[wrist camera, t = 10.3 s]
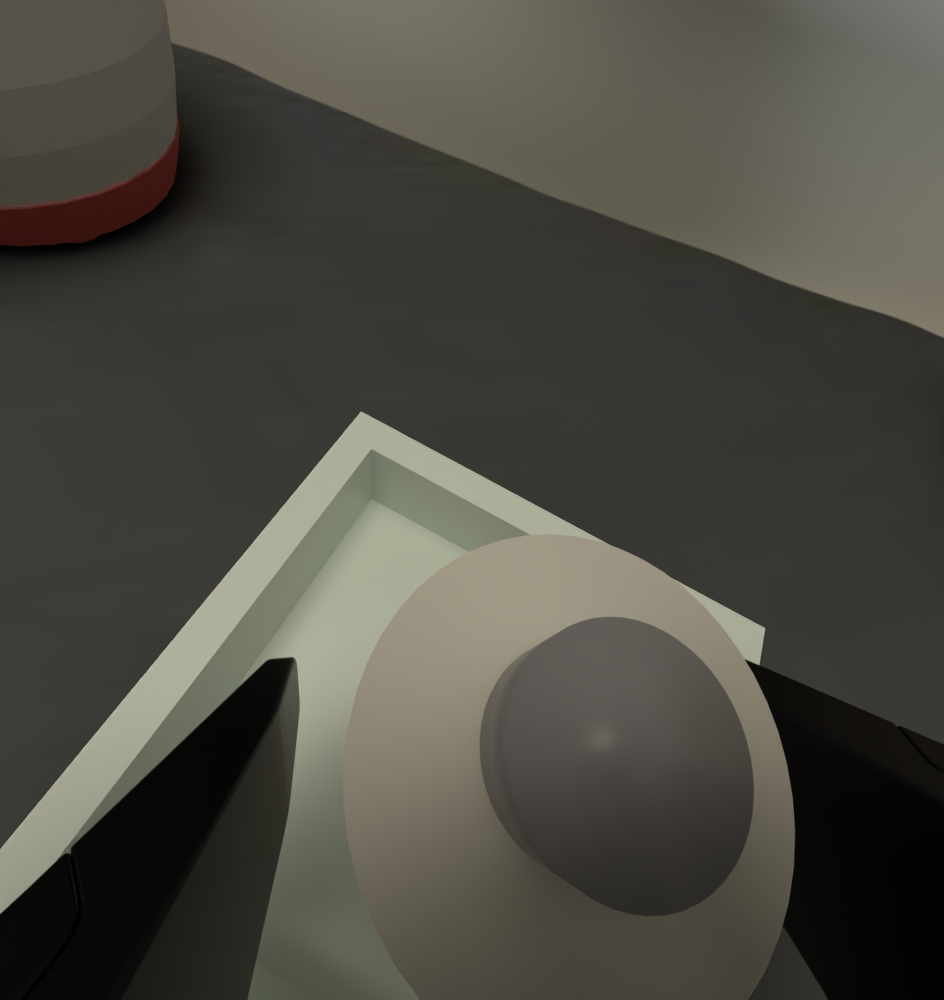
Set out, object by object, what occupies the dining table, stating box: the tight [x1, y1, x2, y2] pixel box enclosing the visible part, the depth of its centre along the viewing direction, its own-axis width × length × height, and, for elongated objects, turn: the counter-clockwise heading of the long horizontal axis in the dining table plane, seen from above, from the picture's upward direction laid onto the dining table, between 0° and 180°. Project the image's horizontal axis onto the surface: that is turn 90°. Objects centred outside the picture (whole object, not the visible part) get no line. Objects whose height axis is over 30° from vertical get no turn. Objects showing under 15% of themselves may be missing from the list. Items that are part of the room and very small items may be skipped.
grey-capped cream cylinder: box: [343, 534, 795, 1000], centre depth 9 cm, size 4×4×12 cm
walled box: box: [0, 412, 765, 1000], centre depth 13 cm, size 14×14×4 cm
